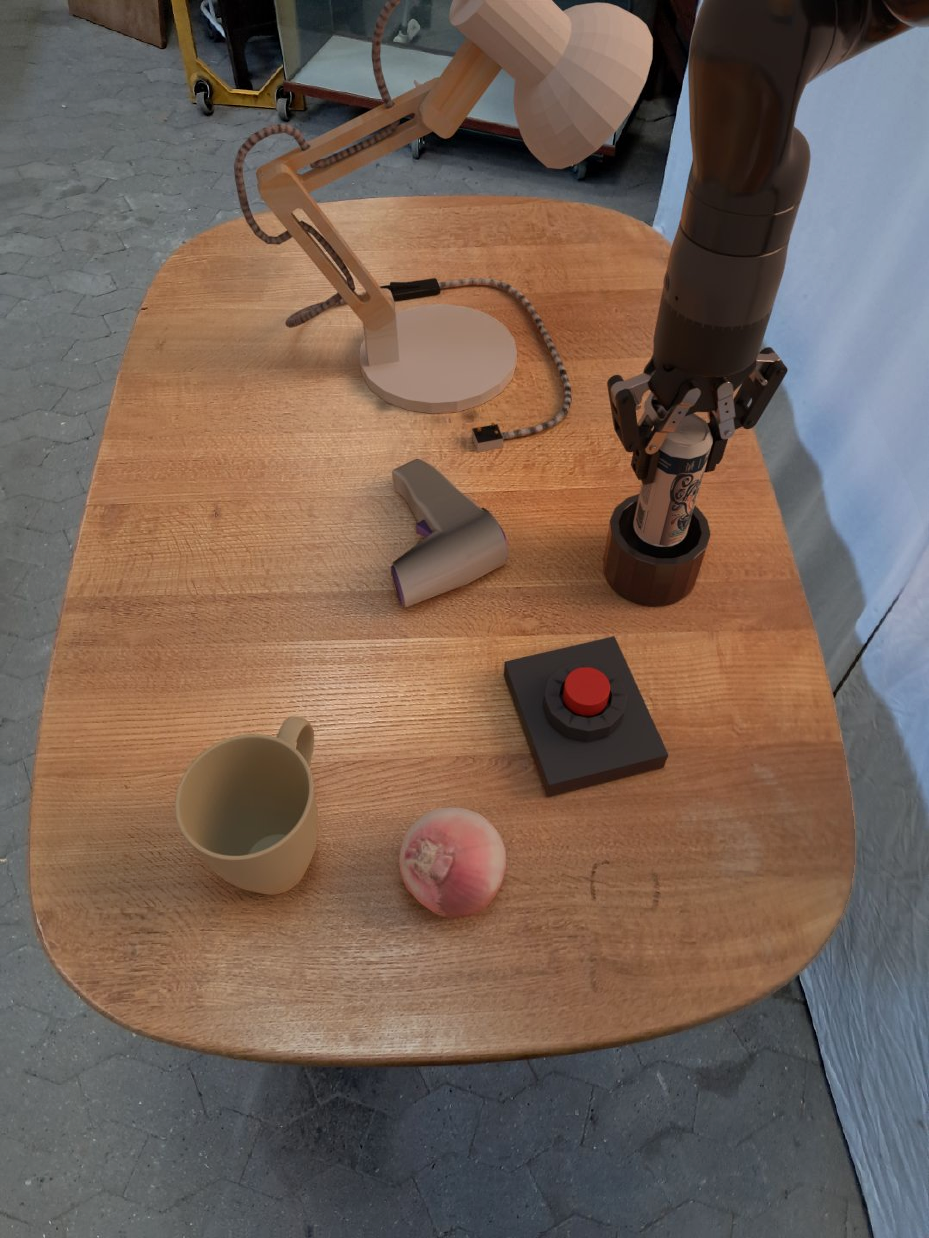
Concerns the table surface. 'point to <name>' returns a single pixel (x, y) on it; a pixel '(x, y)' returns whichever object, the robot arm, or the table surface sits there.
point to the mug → (253, 808)
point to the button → (586, 691)
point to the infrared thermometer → (443, 536)
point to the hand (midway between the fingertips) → (674, 470)
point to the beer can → (674, 484)
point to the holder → (652, 559)
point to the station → (583, 719)
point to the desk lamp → (545, 112)
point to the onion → (453, 861)
